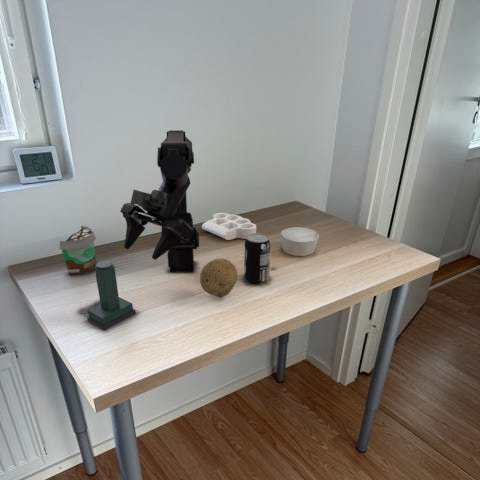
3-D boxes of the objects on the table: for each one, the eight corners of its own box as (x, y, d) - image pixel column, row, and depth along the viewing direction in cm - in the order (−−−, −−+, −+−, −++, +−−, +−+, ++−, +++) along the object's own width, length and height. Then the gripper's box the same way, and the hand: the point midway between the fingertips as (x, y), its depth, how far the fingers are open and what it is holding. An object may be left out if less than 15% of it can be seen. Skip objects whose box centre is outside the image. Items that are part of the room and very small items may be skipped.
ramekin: (313, 260, 134) (314, 243, 131) (275, 255, 137) (276, 238, 134) (320, 246, 143) (322, 229, 140) (284, 241, 146) (285, 225, 143)
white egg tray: (195, 229, 153) (229, 219, 162) (231, 245, 142) (265, 233, 150) (195, 219, 152) (229, 209, 160) (231, 234, 140) (266, 223, 149)
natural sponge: (223, 310, 110) (223, 271, 104) (193, 299, 114) (191, 262, 108) (243, 294, 116) (244, 257, 111) (214, 285, 120) (213, 249, 115)
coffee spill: (102, 299, 113) (102, 299, 113) (117, 306, 111) (117, 306, 111) (77, 311, 109) (77, 311, 108) (92, 319, 106) (92, 319, 106)
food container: (87, 279, 122) (80, 244, 117) (65, 277, 123) (58, 241, 118) (107, 260, 133) (102, 226, 127) (87, 258, 134) (81, 224, 128)
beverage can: (243, 274, 126) (243, 232, 119) (267, 274, 126) (269, 232, 120) (245, 286, 120) (246, 242, 114) (270, 285, 121) (272, 241, 114)
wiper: (119, 305, 111) (111, 253, 104) (136, 313, 108) (129, 261, 101) (87, 321, 105) (77, 267, 98) (104, 330, 102) (95, 275, 95)
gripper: (121, 167, 106) (88, 227, 104) (181, 182, 96) (146, 248, 94) (150, 193, 115) (120, 249, 114) (207, 209, 106) (176, 270, 104)
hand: (139, 253), depth 106 cm, fingers open, 9 cm apart
